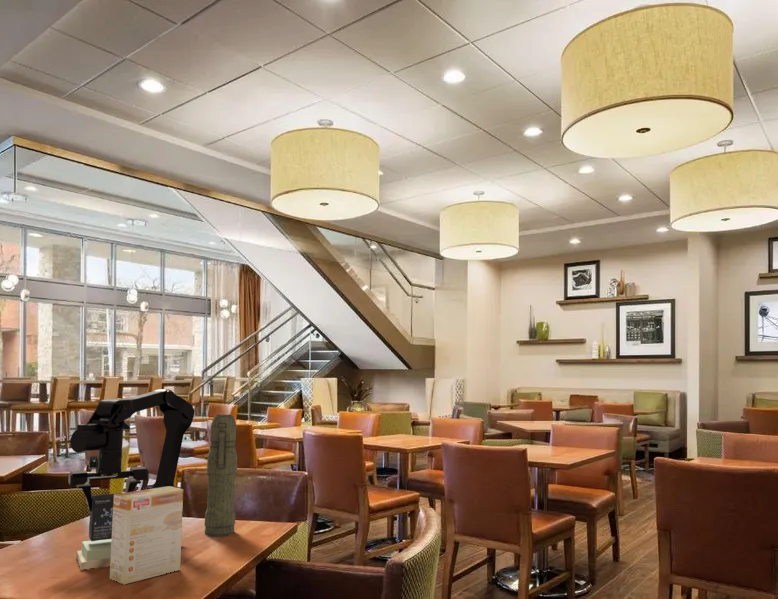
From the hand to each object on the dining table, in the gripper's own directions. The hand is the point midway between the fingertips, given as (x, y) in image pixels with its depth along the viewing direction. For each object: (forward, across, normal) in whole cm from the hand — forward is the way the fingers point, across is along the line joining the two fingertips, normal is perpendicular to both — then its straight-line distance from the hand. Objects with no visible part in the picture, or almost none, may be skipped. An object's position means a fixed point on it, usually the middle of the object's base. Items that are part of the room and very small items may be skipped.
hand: (107, 509), depth 171 cm
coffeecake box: (+13, -7, +17) cm, 22 cm away
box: (+7, 0, 0) cm, 7 cm away
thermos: (+13, -34, -15) cm, 39 cm away
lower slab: (+13, 0, 0) cm, 13 cm away
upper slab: (+11, 0, 0) cm, 11 cm away
